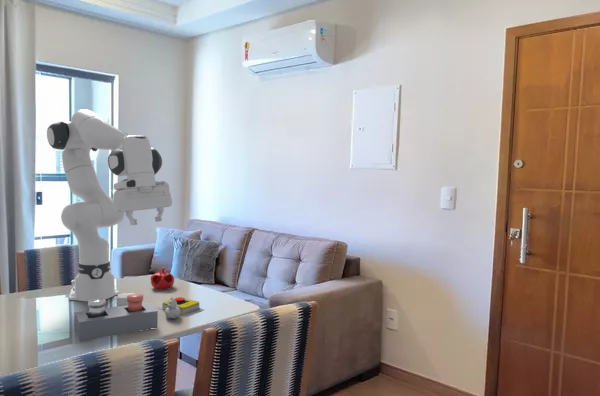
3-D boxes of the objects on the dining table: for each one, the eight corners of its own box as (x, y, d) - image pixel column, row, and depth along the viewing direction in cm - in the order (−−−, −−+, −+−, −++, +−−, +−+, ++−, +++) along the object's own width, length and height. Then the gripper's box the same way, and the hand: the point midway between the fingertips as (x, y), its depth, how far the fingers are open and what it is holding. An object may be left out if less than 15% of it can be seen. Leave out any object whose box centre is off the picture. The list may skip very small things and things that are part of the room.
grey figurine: (161, 319, 168) (161, 297, 167) (171, 313, 174) (171, 292, 173) (174, 321, 166) (174, 299, 166) (184, 315, 173) (184, 294, 172)
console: (74, 330, 155) (74, 312, 155) (148, 318, 168) (148, 302, 167) (79, 341, 146) (79, 322, 145) (157, 328, 159) (157, 311, 158)
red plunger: (125, 309, 160) (125, 295, 160) (141, 307, 163) (141, 293, 163) (128, 313, 156) (129, 298, 156) (144, 311, 159) (145, 296, 159)
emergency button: (176, 293, 187) (205, 299, 180) (176, 304, 188) (204, 310, 180) (158, 298, 179) (187, 305, 172) (158, 310, 180) (187, 317, 172)
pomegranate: (151, 286, 212) (151, 265, 211) (174, 285, 214) (174, 264, 213) (149, 291, 202) (149, 270, 201) (174, 290, 204) (174, 269, 204)
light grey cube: (134, 313, 174) (134, 297, 173) (116, 314, 172) (116, 298, 172) (134, 308, 179) (134, 292, 179) (117, 309, 178) (117, 293, 177)
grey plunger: (87, 314, 154) (86, 299, 154) (104, 312, 157) (104, 297, 156) (89, 319, 150) (89, 304, 149) (107, 316, 152) (107, 301, 152)
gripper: (162, 181, 169) (167, 220, 169) (108, 185, 153) (113, 227, 153) (173, 179, 165) (177, 219, 165) (118, 183, 149) (123, 226, 149)
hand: (146, 223), depth 159 cm, fingers open, 8 cm apart
